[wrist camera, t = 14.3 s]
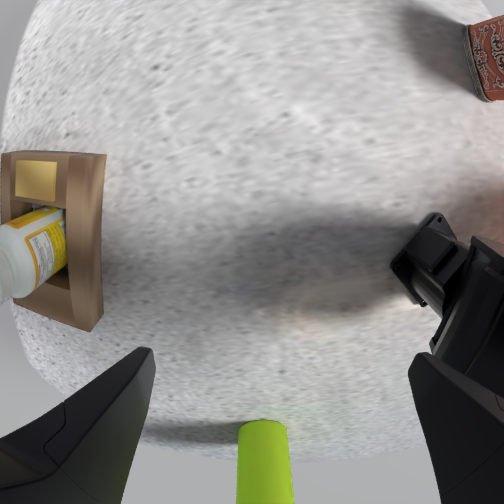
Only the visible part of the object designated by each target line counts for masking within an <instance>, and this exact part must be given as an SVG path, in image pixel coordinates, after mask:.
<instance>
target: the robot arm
mask: <svg viewBox="0 0 504 504" xmlns="http://www.w3.org/2000/svg"><path fill="white" fill-rule="evenodd" d="M438 218H439V221H438ZM470 243H471V246H470V247H468V246H467V245H465V244H463V243H462V242H460V241H458V240H457V238H456V237H455V235H454V233H453V231H452V230H451V228H450V226H449V224H448V223H447V221H446V219H445V218H444V216H443V215H442V214H440V213H436V214H434V216H433V217H432V218H431V219H430V220H429V221H428V223H427V224H426V225H425V226H424V227H423V228H422V229H421V230H420V231H419V232H418V233H417V235H416V236H415V237H414V238H413V239H412V240H411V241H410V242H409V243H408V244H407V246H406V247H405V248H404V249H403V250H402V251H401V252H400V254H399V255H398V256H397V257H396V258H395V259H394V260H393V261H392V262H391V264H390V269H391V270H392V271H393V273H394V274H395V275H396V276H397V277H398V279H399V280H400V281H401V282H402V283H403V285H404V286H405V287H406V288H407V289H408V291H409V292H410V293H411V294H412V296H413V297H414V298H415V299H416V301H417V302H418V303H419V305H420V306H421V307H425V306H427V305H429V306H430V307H431V308H432V309H433V310H434V311H435V312H436V313H437V314H438V315H439V316H440V318H441V319H442V321H441V323H440V325H439V327H438V329H437V331H436V333H435V335H434V337H432V339H431V340H430V342H429V345H430V348H431V352H432V355H431V354H429V353H428V352H422V353H418V354H416V356H415V358H414V360H413V362H412V364H411V366H410V368H409V370H408V378H409V382H410V386H411V390H412V394H413V398H414V403H415V407H416V410H417V414H418V417H419V420H420V423H421V426H422V429H423V433H424V436H425V439H426V443H427V446H428V449H429V453H430V457H431V461H432V464H433V468H434V472H435V476H436V481H437V485H438V489H439V493H440V499H441V504H504V244H501V243H498V242H495V241H491V240H488V239H485V238H481V237H478V236H474V235H472V238H471V242H470ZM396 264H398V265H397V267H396V268H394V267H395V265H396ZM424 300H425V301H424ZM423 301H424V302H423ZM155 372H156V367H155V361H154V355H153V351H152V349H151V348H147V347H138V348H136V349H135V350H134V351H132V352H131V353H130V354H128V355H127V356H125V357H124V358H123V359H121V360H120V361H119V362H117V363H116V364H114V365H113V366H112V367H110V368H109V369H108V370H106V371H105V372H103V373H102V374H101V375H99V376H98V377H96V378H95V379H94V380H92V381H91V382H90V383H88V384H87V385H85V386H84V387H83V388H81V389H80V390H78V391H77V392H76V393H74V394H73V395H71V396H70V397H69V398H67V399H66V400H65V401H64V402H62V403H60V404H59V405H57V406H56V407H54V408H53V409H52V410H50V411H48V412H47V413H46V414H44V415H42V416H41V417H39V418H37V419H36V420H34V421H32V422H30V423H29V424H27V425H25V426H23V427H21V428H19V429H17V430H15V431H14V432H12V433H10V434H8V435H6V436H4V437H2V438H0V504H121V500H122V497H123V493H124V489H125V485H126V482H127V478H128V475H129V471H130V468H131V465H132V461H133V457H134V454H135V451H136V448H137V444H138V441H139V438H140V435H141V432H142V429H143V425H144V422H145V419H146V416H147V412H148V408H149V402H150V397H151V392H152V387H153V382H154V377H155Z"/></svg>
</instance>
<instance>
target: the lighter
mask: <svg viewBox="0 0 504 504" xmlns="http://www.w3.org/2000/svg"><path fill="white" fill-rule="evenodd" d="M462 36H463V43H464V48H465V52H466V57H467V61H468V65H469V69H470V72H471V76H472V79H473V82H474V86H475V89H476V92H477V95H478V96H479V98H480V99H481V100H482V101H484V102H495V101H496V100H504V15H502V16H498V17H495V18H492V19H489V20H486V21H483V22H480V23H477V24H475V25H471V24H469V25H466V26H464V27H463V28H462Z"/></svg>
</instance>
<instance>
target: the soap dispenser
mask: <svg viewBox="0 0 504 504" xmlns="http://www.w3.org/2000/svg"><path fill="white" fill-rule="evenodd" d="M237 465H238V466H237V501H236V504H294V495H293V485H292V475H291V466H290V456H289V446H288V437H287V429H286V427H285V426H284V425H283V424H281V423H279V422H276V421H271V420H258V421H252V422H249V423H246V424H244V425H243V426H242V427H241V428H240V429H239V432H238V464H237Z"/></svg>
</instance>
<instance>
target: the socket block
mask: <svg viewBox="0 0 504 504" xmlns="http://www.w3.org/2000/svg"><path fill="white" fill-rule="evenodd" d="M106 156H107V155H105V154H93V153H79V152H62V151H37V150H22V151H15V152H9V153H3V154H1V172H0V203H1V222H2V224H5V223H7V222H9V221H11V220H14V219H16V218H18V217H20V216H23V215H25V214H27V213H30V212H32V203H35V204H41V205H46V206H52V207H58V208H64V209H66V242H67V261H68V269H65V268H61V269H60V270H58V271H57V272H56V273H55V274H53V275H52V276H51V277H50V278H48V279H47V280H46V281H45V282H44V283H42V284H41V285H40V286H39V287H37V288H36V289H35V290H34V291H33V292H31V293H30V294H29V295H27V296H26V297H23V298H14V297H13V301H14V303H15V304H17V305H19V306H21V307H24V308H26V309H28V310H31V311H33V312H36V313H38V314H41V315H43V316H46V317H48V318H51V319H53V320H56V321H59V322H61V323H64V324H67V325H70V326H72V327H75V328H78V329H81V330H84V331H87V332H91V330H92V329H93V328H94V326H95V325H96V324H97V322H98V321H99V319H100V318H101V317H102V315H103V314H104V310H103V297H102V278H101V216H102V198H103V184H104V174H105V164H106Z"/></svg>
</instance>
